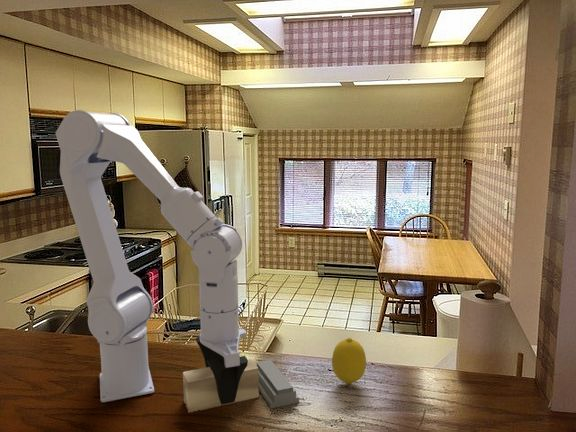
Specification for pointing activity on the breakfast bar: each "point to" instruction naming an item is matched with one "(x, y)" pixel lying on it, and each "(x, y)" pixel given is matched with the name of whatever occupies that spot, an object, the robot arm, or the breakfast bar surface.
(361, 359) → the lemon
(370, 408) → the breakfast bar surface
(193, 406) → the bar
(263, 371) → the stepped block
